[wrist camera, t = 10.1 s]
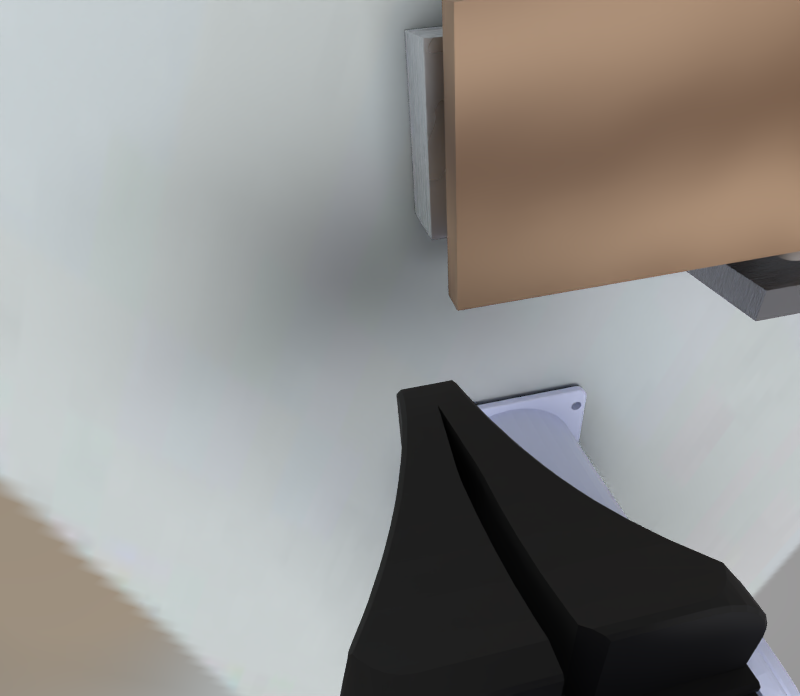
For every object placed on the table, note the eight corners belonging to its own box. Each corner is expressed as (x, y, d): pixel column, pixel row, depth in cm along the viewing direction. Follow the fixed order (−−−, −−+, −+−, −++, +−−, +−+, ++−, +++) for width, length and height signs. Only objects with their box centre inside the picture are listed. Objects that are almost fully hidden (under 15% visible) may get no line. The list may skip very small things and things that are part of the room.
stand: (924, 204, 25) (1079, 260, 21) (419, 287, 22) (462, 375, 18) (1105, -156, 18) (1408, -199, 13) (397, -102, 15) (458, -133, 10)
